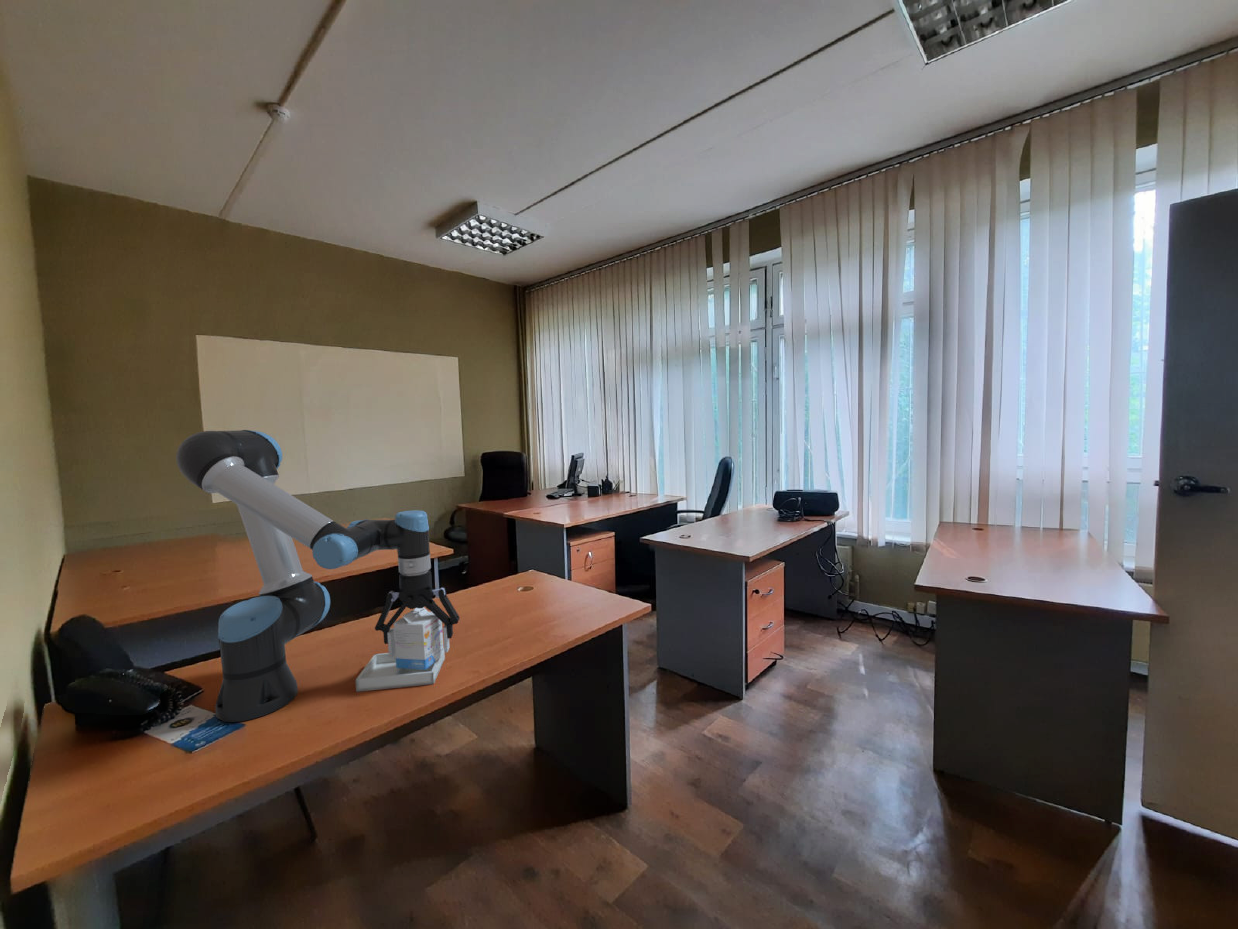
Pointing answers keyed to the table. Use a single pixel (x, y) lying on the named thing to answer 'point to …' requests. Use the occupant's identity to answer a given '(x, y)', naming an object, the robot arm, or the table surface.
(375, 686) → the caddy
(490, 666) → the table surface
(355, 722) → the table surface
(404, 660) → the ink box
